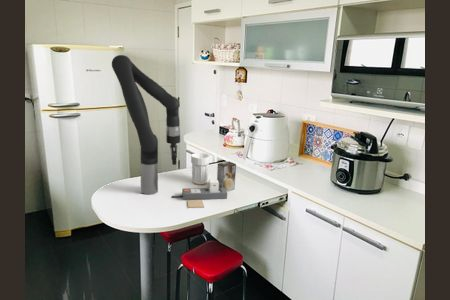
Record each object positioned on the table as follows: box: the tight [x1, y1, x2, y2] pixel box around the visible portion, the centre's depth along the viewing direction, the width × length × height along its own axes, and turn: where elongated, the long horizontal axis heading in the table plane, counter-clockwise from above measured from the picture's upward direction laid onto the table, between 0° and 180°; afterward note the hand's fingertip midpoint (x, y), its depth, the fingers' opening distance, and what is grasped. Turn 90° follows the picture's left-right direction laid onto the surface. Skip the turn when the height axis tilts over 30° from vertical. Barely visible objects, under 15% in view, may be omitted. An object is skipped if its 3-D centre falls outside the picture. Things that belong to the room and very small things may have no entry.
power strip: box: [171, 187, 228, 201], centre depth 179 cm, size 30×8×4 cm, turn 102°
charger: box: [208, 179, 219, 193], centre depth 179 cm, size 5×5×7 cm
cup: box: [190, 152, 211, 186], centre depth 198 cm, size 11×11×17 cm
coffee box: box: [216, 161, 237, 193], centre depth 189 cm, size 9×6×16 cm
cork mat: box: [186, 200, 205, 209], centre depth 170 cm, size 8×8×1 cm
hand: (173, 162), depth 181 cm, fingers open, 8 cm apart
